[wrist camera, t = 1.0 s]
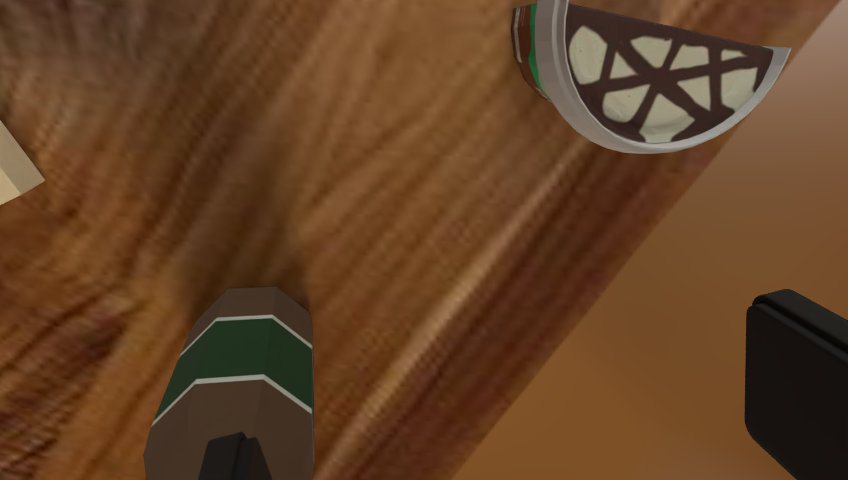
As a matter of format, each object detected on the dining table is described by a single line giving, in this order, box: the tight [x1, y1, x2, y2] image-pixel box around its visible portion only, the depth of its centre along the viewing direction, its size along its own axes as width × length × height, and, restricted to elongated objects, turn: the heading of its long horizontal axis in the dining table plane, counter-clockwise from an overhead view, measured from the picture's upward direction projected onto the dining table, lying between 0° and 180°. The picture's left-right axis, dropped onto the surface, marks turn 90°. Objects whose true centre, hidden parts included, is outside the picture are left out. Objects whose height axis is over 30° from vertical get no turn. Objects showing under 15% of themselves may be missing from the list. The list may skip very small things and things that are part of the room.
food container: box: [511, 0, 792, 154], centre depth 31 cm, size 12×6×10 cm, turn 79°
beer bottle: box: [144, 286, 314, 480], centre depth 27 cm, size 8×8×24 cm
